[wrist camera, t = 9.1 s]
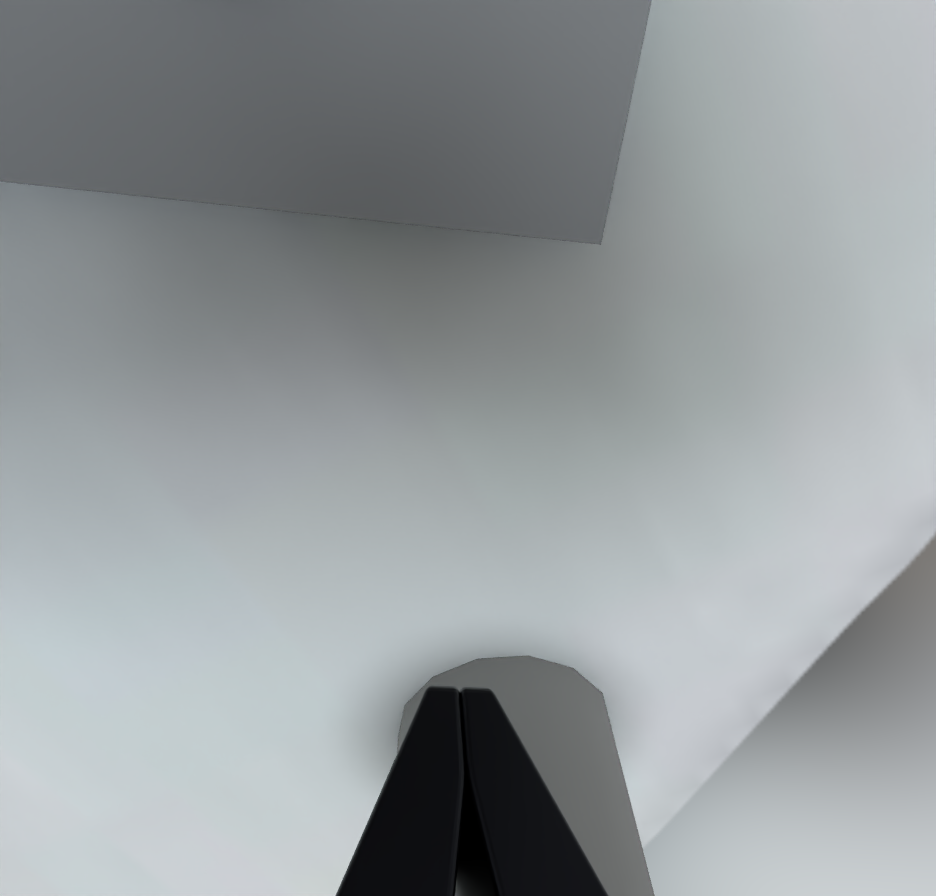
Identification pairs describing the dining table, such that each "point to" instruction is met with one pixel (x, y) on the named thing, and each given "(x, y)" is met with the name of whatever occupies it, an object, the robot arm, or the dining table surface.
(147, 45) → the base
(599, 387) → the dining table surface
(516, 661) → the cup
